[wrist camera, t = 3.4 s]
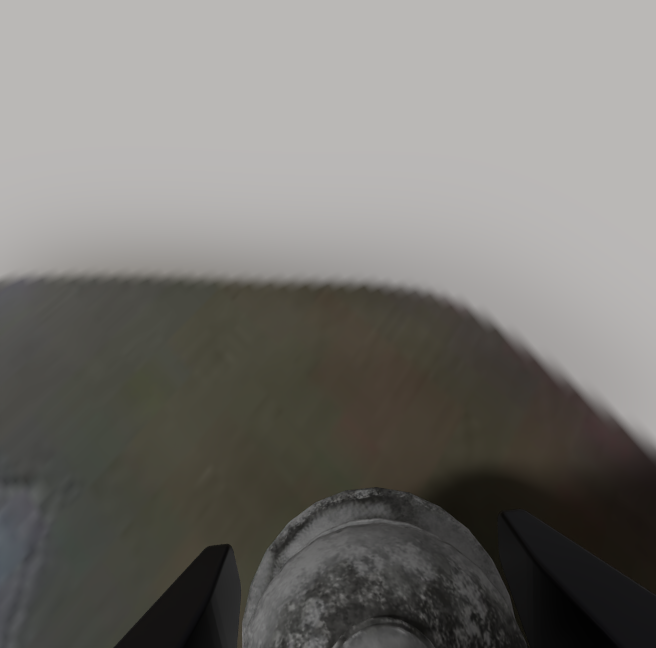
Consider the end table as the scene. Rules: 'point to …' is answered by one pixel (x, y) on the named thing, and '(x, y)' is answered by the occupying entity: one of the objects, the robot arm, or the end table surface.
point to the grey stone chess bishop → (378, 580)
